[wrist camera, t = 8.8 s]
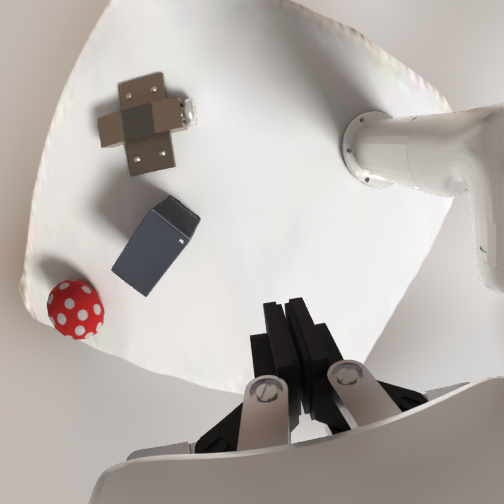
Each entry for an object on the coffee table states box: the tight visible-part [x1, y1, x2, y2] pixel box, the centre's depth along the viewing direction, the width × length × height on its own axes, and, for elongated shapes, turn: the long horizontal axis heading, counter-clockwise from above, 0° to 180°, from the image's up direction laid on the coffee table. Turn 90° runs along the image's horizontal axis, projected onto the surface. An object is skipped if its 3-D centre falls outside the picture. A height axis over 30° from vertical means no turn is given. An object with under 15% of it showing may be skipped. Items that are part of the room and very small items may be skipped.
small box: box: [111, 196, 201, 297], centre depth 38 cm, size 11×6×10 cm, turn 139°
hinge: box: [98, 73, 187, 176], centre depth 35 cm, size 12×15×4 cm
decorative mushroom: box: [47, 280, 105, 339], centre depth 42 cm, size 11×11×15 cm
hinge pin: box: [181, 98, 197, 126], centre depth 35 cm, size 14×4×4 cm, turn 97°
